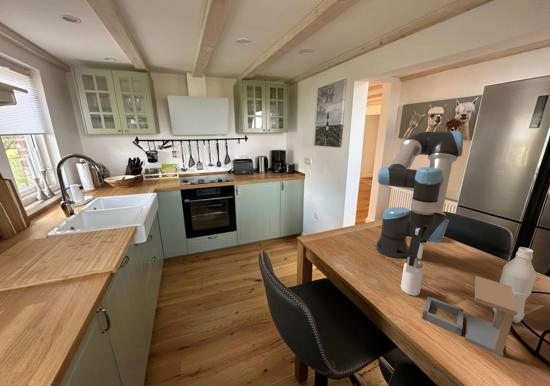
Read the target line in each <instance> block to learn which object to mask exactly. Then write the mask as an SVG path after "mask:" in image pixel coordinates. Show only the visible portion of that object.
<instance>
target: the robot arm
mask: <svg viewBox="0 0 550 386" xmlns="http://www.w3.org/2000/svg"><path fill="white" fill-rule="evenodd" d="M463 147H464V134H463V133H462V132H461V131H458V130H457V131H456V130H453V131H452V130H448V131H447V130H444V131H441V130H440V131H421V132H418V133H417V132H416V133H415V134H413V135H410V136H409V137H407V138H405V139H404V140H403V141H402V142H401V144H400V146H399V152H398V153H396V156H395V157H394V158H393V160H392V162H391V163H390V165H389V166H386V167H384V166H383V167H380V169H379V171H378V174H377V182H378V184H379V185H382V186H387V187H395V188H396V187H397V188H407V189H413V193H412V198H411V202H410V203H411V204H410V209H409V208H406V207H401V206H399V207H396V206H394V207H388V208H386V209H385V210H384V211H383V215H382V221H381V232H380V233H381V234H380V236H379V238H378V240H377V242H376V245H375V249H376V251H378V253H379V254H381V255H384V256H385V257H386V256H387V257H391V258H394V259H396V258H397V259H402V258H406V257H407V260H406V261H407V266H406V272H408V273H411V274H415V269H416V263H417V261H418V260H421V259H422V258H423V257H422V256H423V251H424V248H425V247H424V245H425V244H427V243H428V242H431V243H435V244H439V243H441V242H442V241H443V238H444V235H445V233H446V230H447V228H448V225H449V222H450V220H449V219H447V215H446V213H444V211H443V210H444V205H445V202H446V196H447V191H448V186H449V182H450V175H451V172H452V166H453V163H454V162H456V161H457V160H458V158H459V157H461V156H463ZM419 155H420V156H422V155H423V156H427V159H428V160H429V162H430V163H429V166H427V167H424V166H423V167H418V168H417V169H411V166H413V162H414V161H415V159H416V157H417V156H419ZM408 237H409V238H410V243H409V246H408V242H407V238H408Z"/></svg>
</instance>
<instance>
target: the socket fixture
mask: <svg viewBox="0 0 550 386" xmlns="http://www.w3.org/2000/svg"><path fill="white" fill-rule="evenodd" d="M474 302H476V303H479V304H481V305H484V306H487V307H490V308H492V309H493V308H495V309H496V312H495V313H494V316H493V319H492V322H491V321H488V320H485V319H482V318H480V317H478V316H474V315H472V314H469V313H466V314H465V326H464V327H465V331H464V332H465V333H464V340H465V341H466V342H469V343H471V344H473V345H475V346H478V347H480V348H483V349H484V350H486V351H488V352H492V353H493V354H495V355H498V356H500V357H503V358H504V354H505V353H504V349H505V346H506V343H507V339H508V336H509V333H510V330H511V327H512V323H513V318H514V315H515V316H516V315H517V308H516V304H515V299H514V295H513V291H512V287H511V286H508V285H505V284H502V283H499V282H498V281H495V280H491V279H488V278H484V277H481V276H478V275H475V277H474ZM431 307H433V308H436V309H437V310H440V311H442V312H446V313H448V314H451V315H453V316H455V317H456V323H455V322H453V321H450V320H447V319H445V318H444V317H441V316H439V315H436V314H434V313H431V312H430V308H431ZM421 317H422V318H421V319H422V320H425V321H426V322H429V323H431V324H433V325H436V326H438V327H440V328H443V329H445V330H447V331H449V332H452V333H454V334H456V335H458V336H462V332H463V323H464V309H462V308H460V307H457V306H455V305H452V304H449V303H446V302H444V301H441V300H439V299H436V298H433V297H431V296H427V299H426V301H425V305H424V307H423V312H422V316H421Z"/></svg>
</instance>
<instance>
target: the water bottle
mask: <svg viewBox="0 0 550 386" xmlns="http://www.w3.org/2000/svg"><path fill="white" fill-rule="evenodd" d="M533 254H534V250H533V249H531V248H530V247H529V248H528V247H524V246H523V247H522V246H520V247H519V248H518V250H517V251H516V253H515V257H514V258H512V259H511V260H510V261H508V262H507V263H506V264H504V266H503V267H502V272H501V276H500V279H499V282H498V283H502V284H505V285H508V286H511V287H512V291H513V295H514V299H515V304H516V308H517V315H516V316H515V315H514V318H513V321H512V323H516V324H517V323H519V322H521V321H522V320H523V319H524V317H525V305H526V300H527V299H528V298H529V297H530V295H532V290H533V287H534V284H535V282H536V281H537V273H536V270H535V268H534V265H533V264H532V260H533V259H534V257H533ZM492 311H493V313H494V314H495V312H496V309H495V308H493V307H492Z"/></svg>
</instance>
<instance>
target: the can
mask: <svg viewBox="0 0 550 386" xmlns="http://www.w3.org/2000/svg"><path fill="white" fill-rule="evenodd" d="M406 266H407V260H405V262H404V264H403V269H402V270H403V271H402V275H401V276H402V277H401V282H400V290H401V291H402V292H403V293H404V294H406V295H408V296H413V297H416V296H419V295H420V294H421V288H422V283H423V282H422V281H423V276H424V265H423V263H422V262H420V261H418V260H417V263H416V269H415V274H411V273H408V272H406Z"/></svg>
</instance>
